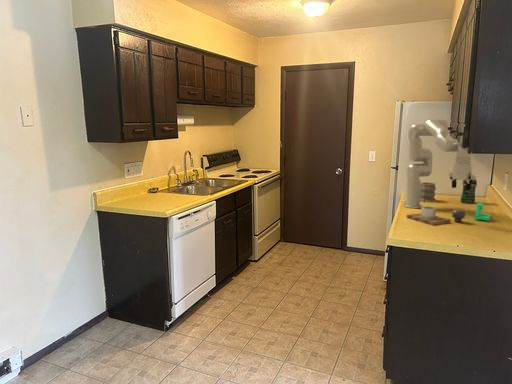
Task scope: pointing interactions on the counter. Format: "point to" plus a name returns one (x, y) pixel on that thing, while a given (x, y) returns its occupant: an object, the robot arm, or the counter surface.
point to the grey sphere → (458, 215)
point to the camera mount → (479, 215)
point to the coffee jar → (468, 193)
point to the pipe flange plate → (428, 216)
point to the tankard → (427, 192)
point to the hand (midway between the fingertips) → (460, 188)
